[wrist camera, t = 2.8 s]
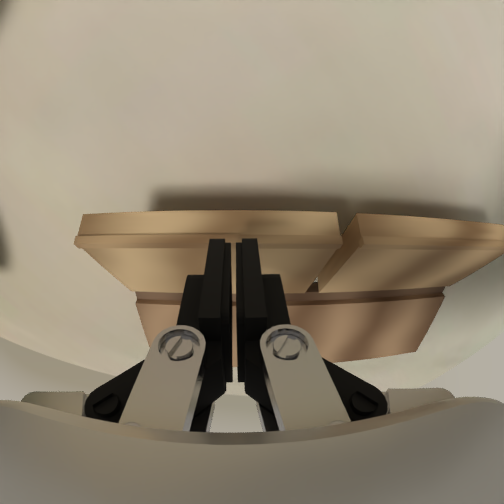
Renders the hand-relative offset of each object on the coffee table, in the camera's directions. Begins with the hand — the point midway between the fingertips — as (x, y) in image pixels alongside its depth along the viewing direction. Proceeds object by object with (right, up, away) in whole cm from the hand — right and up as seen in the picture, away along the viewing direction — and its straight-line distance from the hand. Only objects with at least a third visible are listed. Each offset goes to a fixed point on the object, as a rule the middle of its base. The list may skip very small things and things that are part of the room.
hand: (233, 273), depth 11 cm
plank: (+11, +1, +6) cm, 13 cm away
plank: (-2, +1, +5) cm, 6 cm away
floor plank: (+5, -5, +13) cm, 14 cm away
